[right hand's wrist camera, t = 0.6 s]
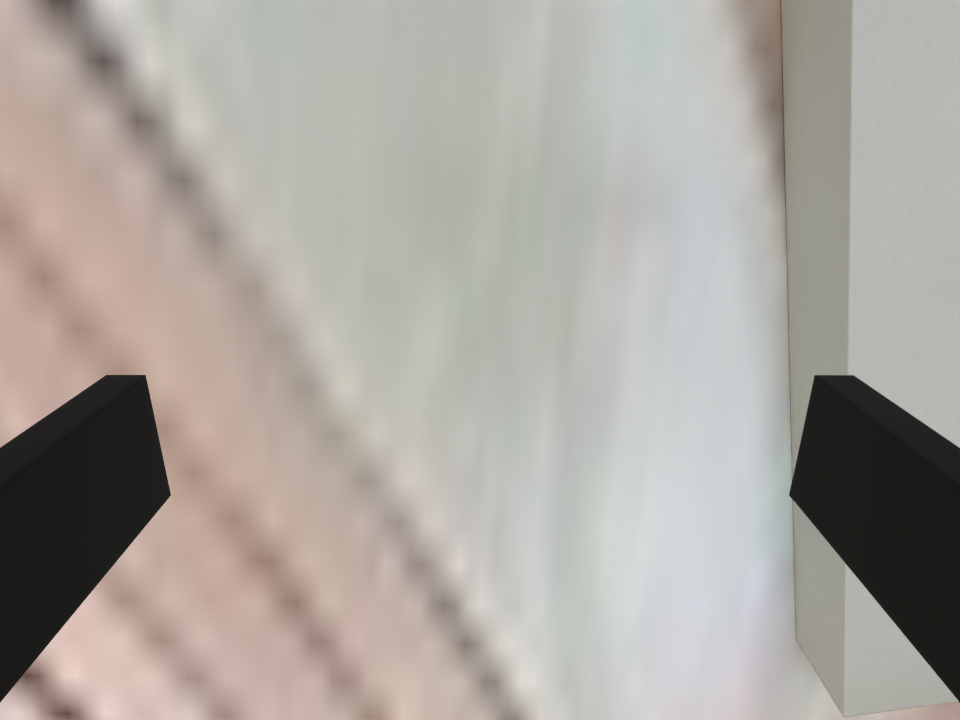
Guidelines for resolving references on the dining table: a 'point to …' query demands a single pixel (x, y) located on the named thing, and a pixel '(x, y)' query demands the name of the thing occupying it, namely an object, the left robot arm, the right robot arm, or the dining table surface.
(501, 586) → the dining table surface
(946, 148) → the slab
